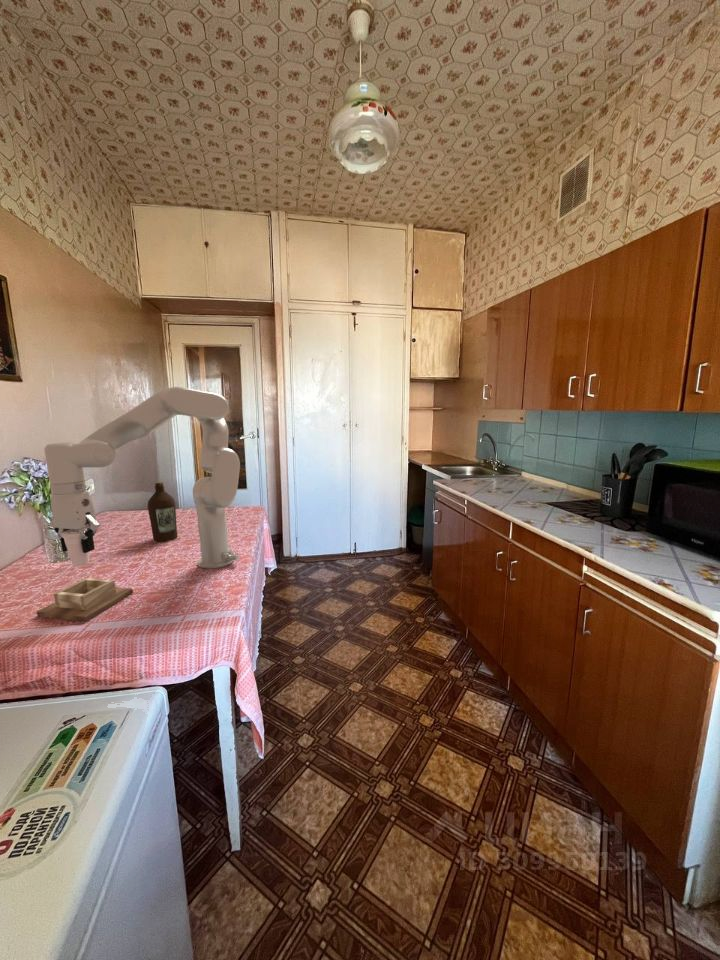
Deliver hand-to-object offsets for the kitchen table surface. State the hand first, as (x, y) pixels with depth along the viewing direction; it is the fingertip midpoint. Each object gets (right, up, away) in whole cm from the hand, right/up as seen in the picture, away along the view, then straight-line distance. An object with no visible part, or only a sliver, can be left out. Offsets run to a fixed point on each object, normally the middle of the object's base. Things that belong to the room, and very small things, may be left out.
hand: (78, 549), depth 106 cm
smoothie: (0, -4, +1) cm, 4 cm away
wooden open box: (0, -16, +3) cm, 17 cm away
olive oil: (-6, -6, +59) cm, 59 cm away
